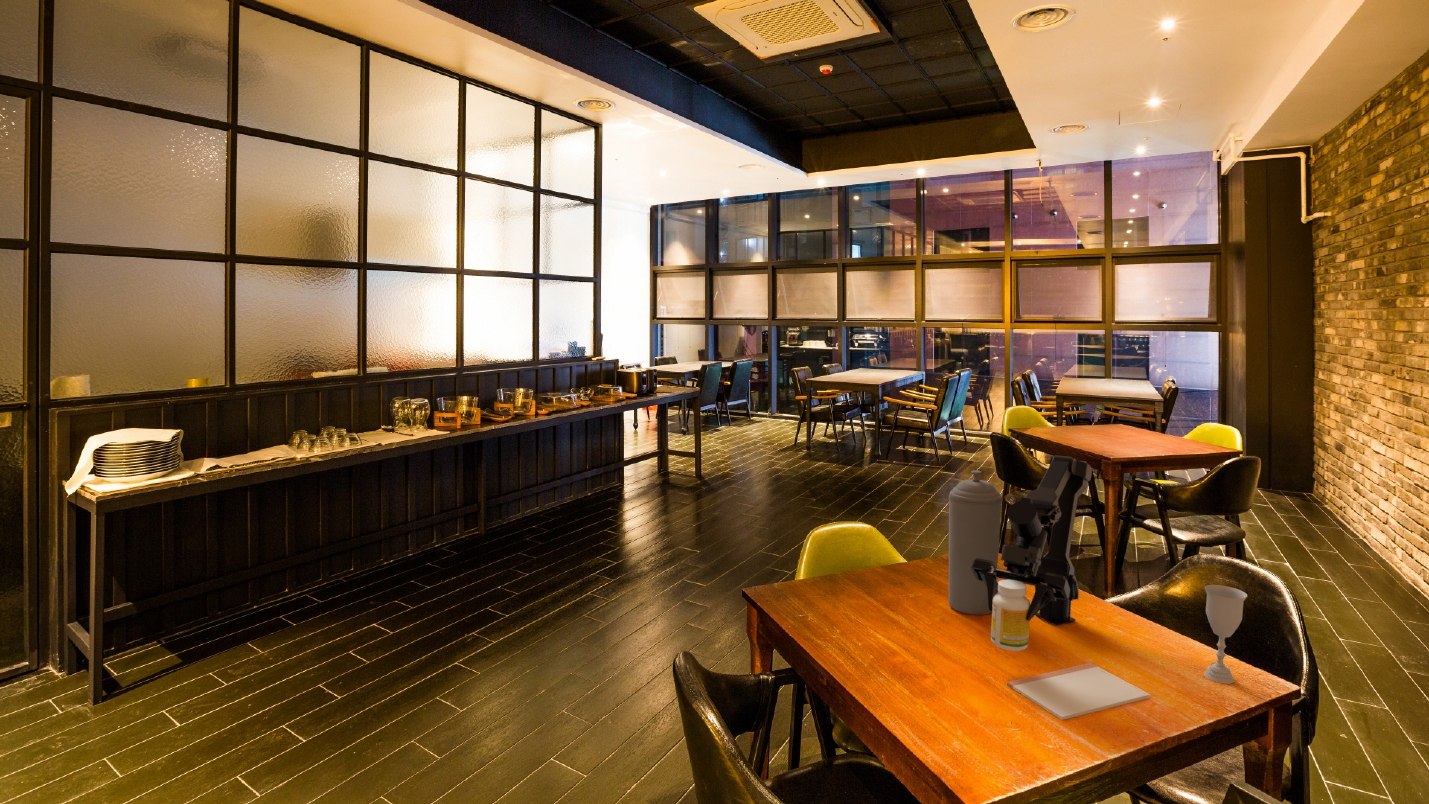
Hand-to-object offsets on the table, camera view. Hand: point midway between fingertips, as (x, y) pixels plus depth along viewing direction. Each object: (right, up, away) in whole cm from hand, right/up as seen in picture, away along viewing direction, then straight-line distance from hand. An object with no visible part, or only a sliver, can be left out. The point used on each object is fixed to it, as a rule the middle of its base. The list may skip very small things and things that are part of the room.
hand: (1008, 615), depth 147 cm
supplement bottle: (+1, -7, +2) cm, 7 cm away
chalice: (+42, -12, -1) cm, 44 cm away
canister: (+5, -9, +35) cm, 36 cm away
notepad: (+11, -13, -7) cm, 18 cm away
